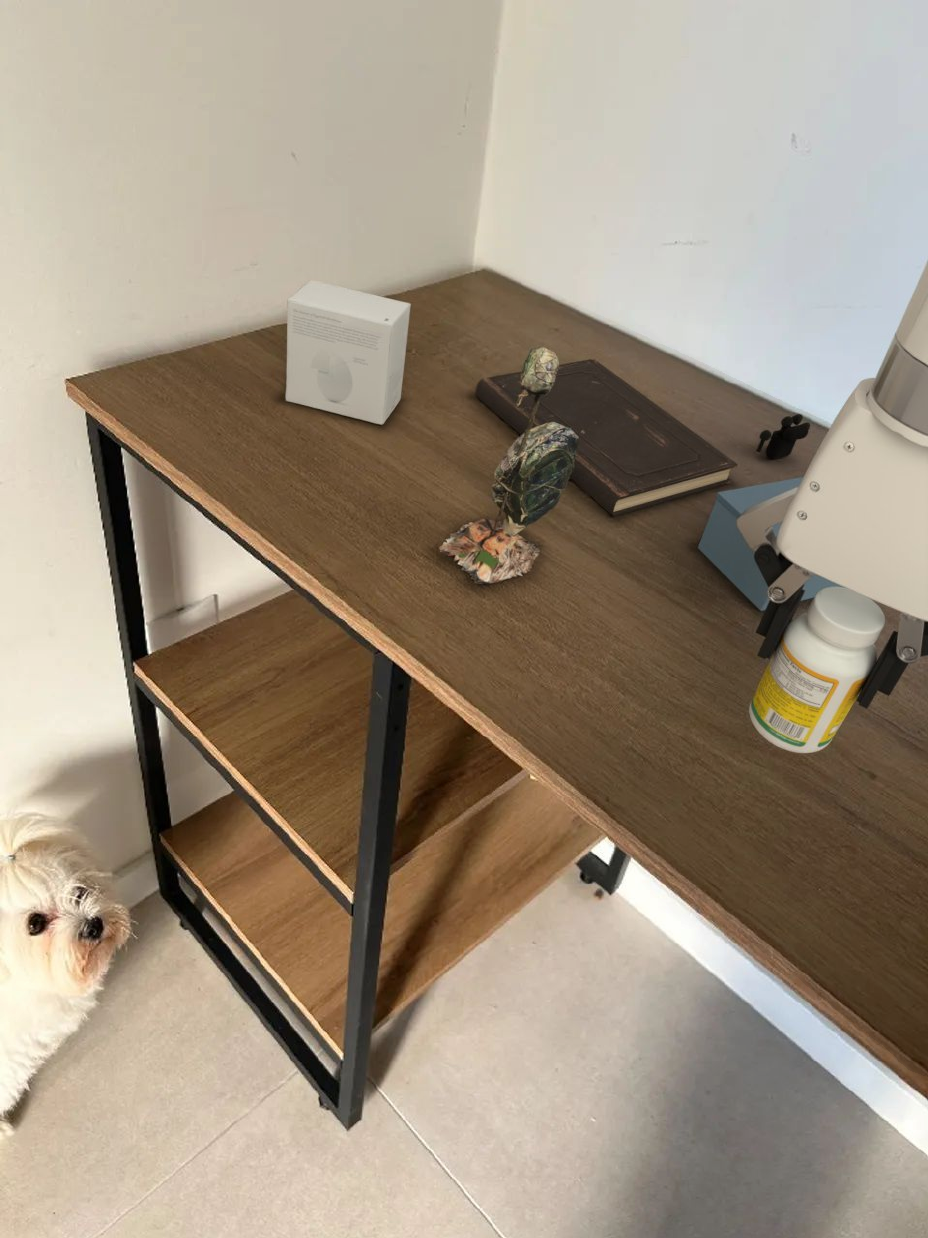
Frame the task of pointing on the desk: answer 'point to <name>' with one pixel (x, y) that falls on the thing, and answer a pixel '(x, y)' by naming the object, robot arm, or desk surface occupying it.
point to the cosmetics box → (345, 351)
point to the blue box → (731, 548)
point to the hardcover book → (614, 437)
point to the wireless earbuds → (784, 437)
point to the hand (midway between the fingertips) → (818, 667)
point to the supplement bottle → (817, 671)
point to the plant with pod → (520, 487)
